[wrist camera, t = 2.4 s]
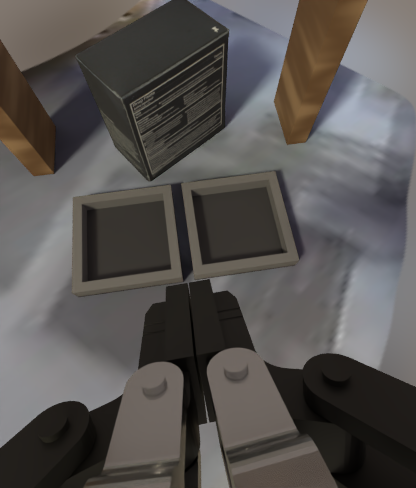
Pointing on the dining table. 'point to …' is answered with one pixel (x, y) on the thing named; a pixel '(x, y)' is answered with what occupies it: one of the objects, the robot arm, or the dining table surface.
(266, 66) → the dining table surface
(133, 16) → the dining table surface
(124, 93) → the small box
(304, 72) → the tunnel
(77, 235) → the tray
